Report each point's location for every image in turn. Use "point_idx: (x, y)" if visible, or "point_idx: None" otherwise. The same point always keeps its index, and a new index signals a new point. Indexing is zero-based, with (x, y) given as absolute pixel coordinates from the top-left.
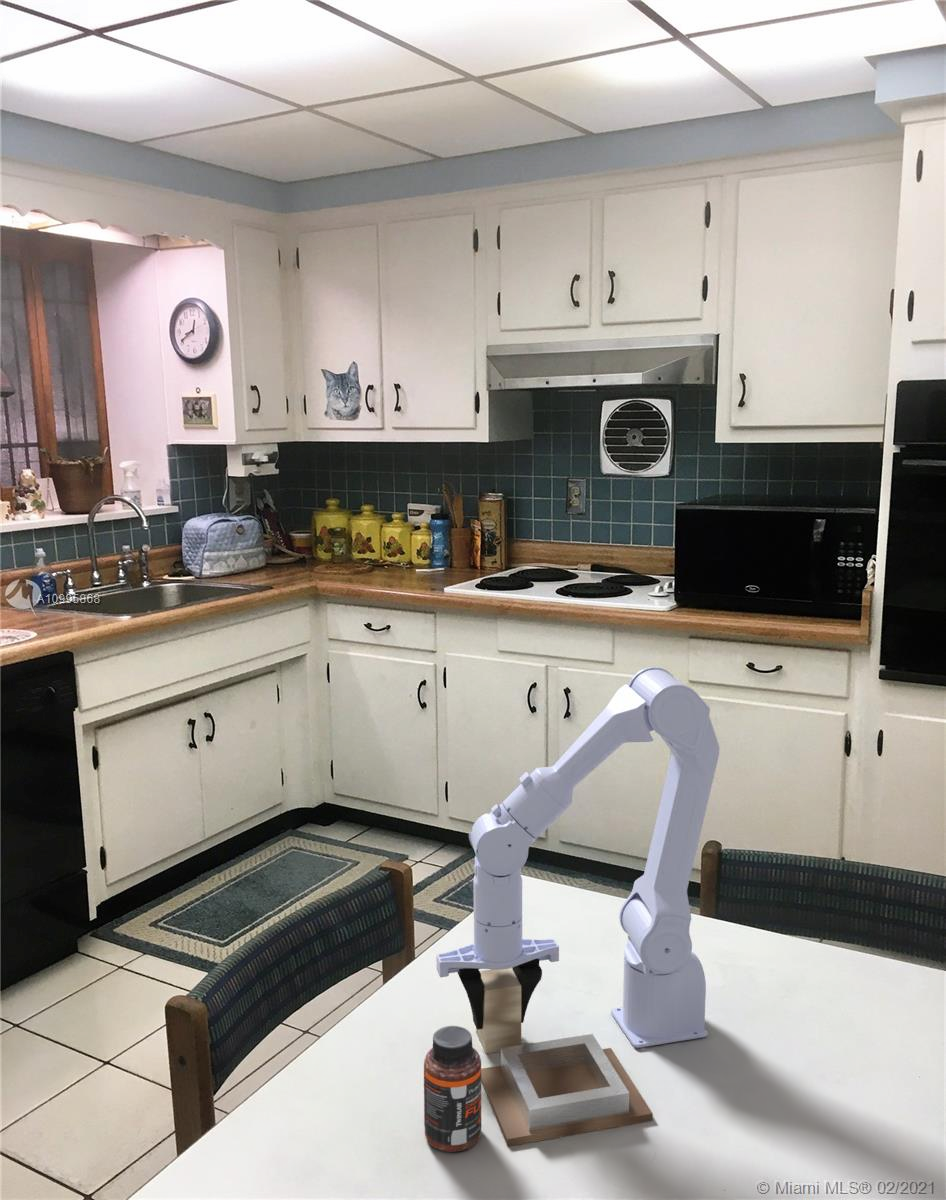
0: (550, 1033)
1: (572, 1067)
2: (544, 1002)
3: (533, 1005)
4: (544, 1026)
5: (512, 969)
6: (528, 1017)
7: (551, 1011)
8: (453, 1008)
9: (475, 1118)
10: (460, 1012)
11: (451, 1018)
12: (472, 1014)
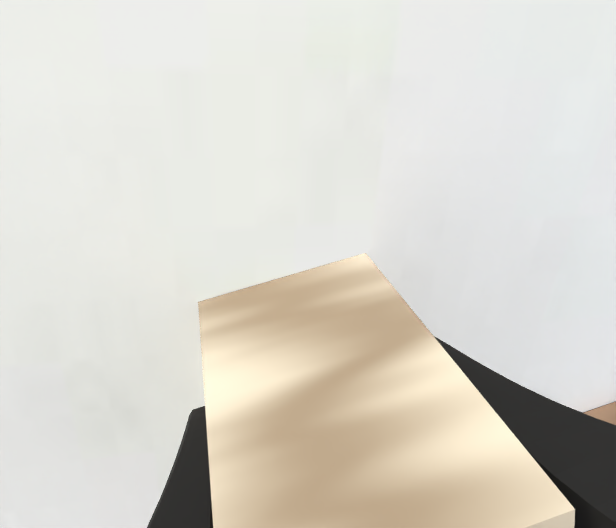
0: (518, 286)
1: None
2: (566, 26)
3: (505, 55)
4: (509, 239)
5: (569, 486)
6: (457, 170)
7: (572, 116)
8: (34, 74)
9: None
10: (90, 121)
11: (43, 184)
12: (185, 432)
